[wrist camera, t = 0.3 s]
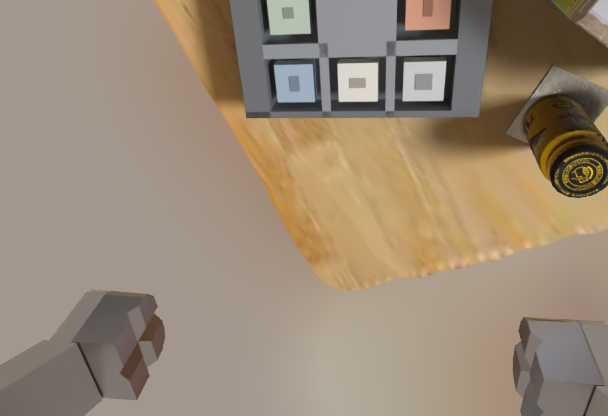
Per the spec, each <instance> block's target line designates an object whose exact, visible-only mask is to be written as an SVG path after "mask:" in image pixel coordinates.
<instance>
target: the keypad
mask: <svg viewBox="0 0 608 416" xmlns="http://www.w3.org/2000/svg"><path fill="white" fill-rule="evenodd" d="M229 2H230V9H231V16H232V22H233V29H234V36H235V43H236V50H237V57H238V63H239V70H240V77H241V84H242V91H243V98H244V105H245V111H246V118H385V117H479V111H480V103H481V95H482V87H483V79H484V71H485V63H486V55H487V47H488V39H489V31H490V23H491V15H492V7H493V0H451V12H450V25H449V29H434V30H405V13H406V0H311V8H312V24H313V30H312V32H311V34H285V35H270V25H269V16H268V7H267V0H229ZM444 56H445V57H446V74H445V86H444V98H443V101H403V70H404V57H444ZM361 58H379V72H378V102H339V93H338V67H337V63H338V60H339V59H361ZM279 60H315V72H316V88H317V98H316V101H315V102H278V100H277V90H276V81H275V72H274V64H275V63H276V61H279Z"/></svg>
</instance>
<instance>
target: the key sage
mask: <svg viewBox="0 0 608 416" xmlns="http://www.w3.org/2000/svg"><path fill="white" fill-rule="evenodd" d="M267 7H268V16H269V25H270V35H285V34H311V32H312V30H313V24H312V8H311V0H267Z"/></svg>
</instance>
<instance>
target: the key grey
mask: <svg viewBox="0 0 608 416" xmlns="http://www.w3.org/2000/svg"><path fill="white" fill-rule="evenodd" d="M445 74H446V57H445V56H444V57H404V70H403V101H443V98H444V86H445Z"/></svg>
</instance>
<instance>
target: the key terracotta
mask: <svg viewBox="0 0 608 416" xmlns="http://www.w3.org/2000/svg"><path fill="white" fill-rule="evenodd" d="M450 12H451V0H406V13H405V30H434V29H449V25H450Z"/></svg>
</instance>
